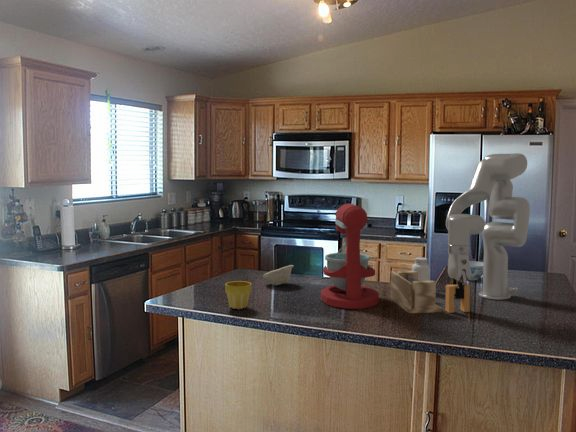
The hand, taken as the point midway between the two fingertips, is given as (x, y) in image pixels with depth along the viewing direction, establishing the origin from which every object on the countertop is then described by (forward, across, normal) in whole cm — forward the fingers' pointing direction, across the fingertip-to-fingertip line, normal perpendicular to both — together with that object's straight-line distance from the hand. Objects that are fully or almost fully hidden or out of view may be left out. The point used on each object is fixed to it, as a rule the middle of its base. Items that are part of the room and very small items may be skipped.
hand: (457, 296), depth 197 cm
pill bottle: (+6, +33, +2) cm, 33 cm away
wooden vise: (+6, +12, +12) cm, 18 cm away
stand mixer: (+6, +23, +36) cm, 43 cm away
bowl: (+6, +55, +63) cm, 84 cm away
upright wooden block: (+6, 0, 0) cm, 6 cm away
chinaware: (+7, +56, -32) cm, 64 cm away
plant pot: (+5, +16, +82) cm, 84 cm away
